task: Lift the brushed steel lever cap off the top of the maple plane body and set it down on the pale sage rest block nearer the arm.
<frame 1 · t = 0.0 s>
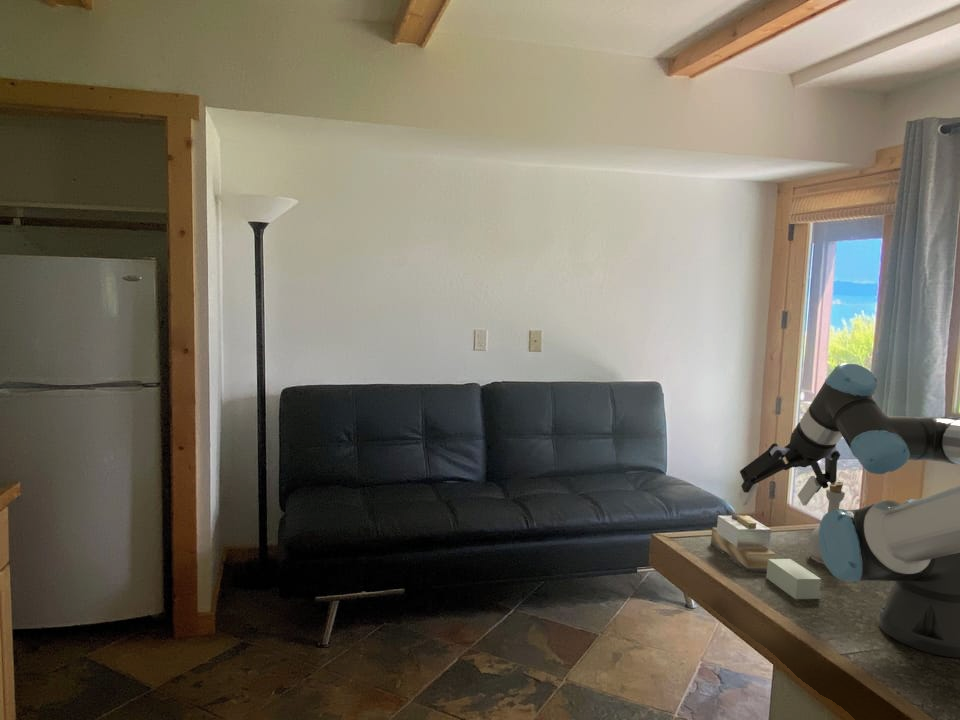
hand: (772, 500, 145), 15 cm above the kitchen counter, tool tilted 35°, fingers open, 13 cm apart
rest block: (791, 587, 138), on the kitchen counter
potion bottle: (827, 561, 155), on the kitchen counter
lever cap: (742, 539, 153), point 4 cm above the kitchen counter, touching plane body
plane body: (740, 557, 153), on the kitchen counter
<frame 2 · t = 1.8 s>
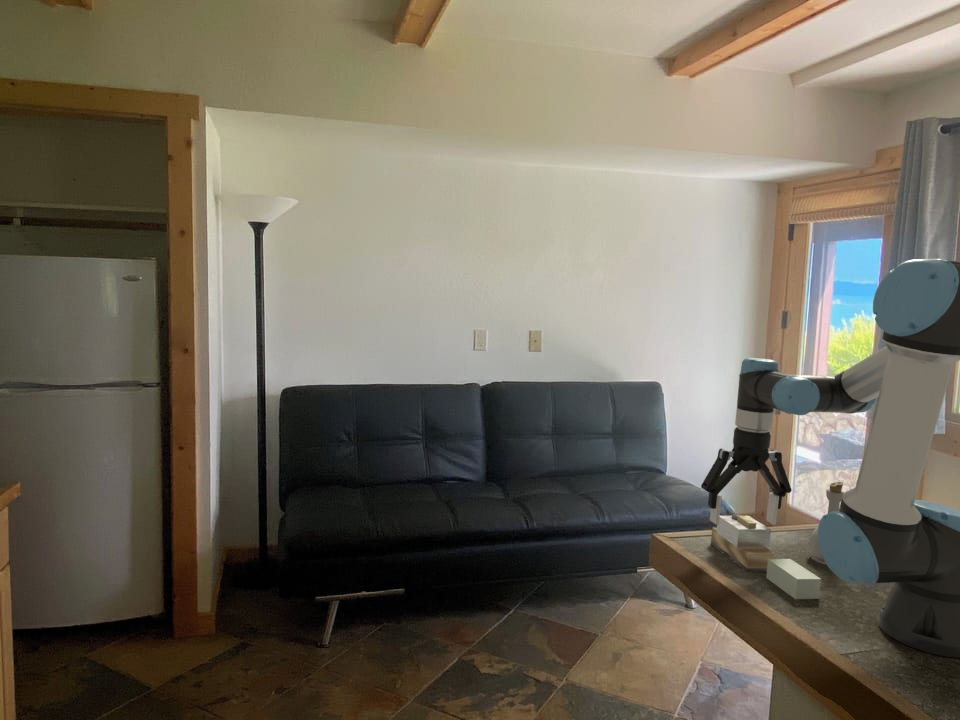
hand: (742, 522, 153), 8 cm above the kitchen counter, tool pointing down, fingers open, 13 cm apart
nothing on the kitchen counter moved.
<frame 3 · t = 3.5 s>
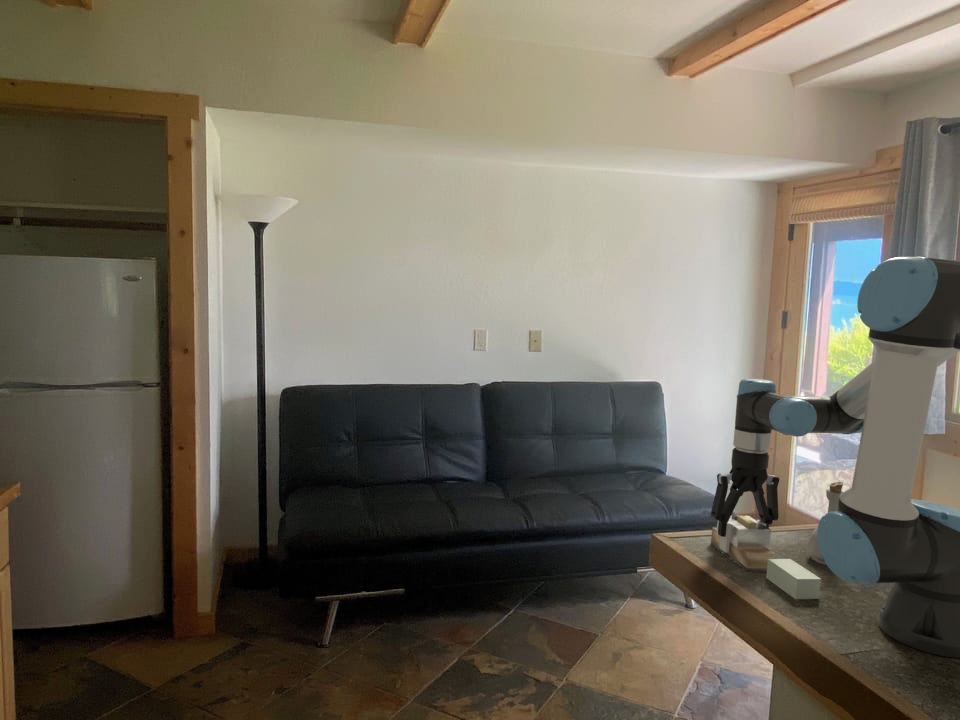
hand: (741, 550, 153), 2 cm above the kitchen counter, tool pointing down, fingers closed on lever cap, 7 cm apart
lever cap: (742, 539, 153), point 4 cm above the kitchen counter, touching gripper, plane body
everything else where it was.
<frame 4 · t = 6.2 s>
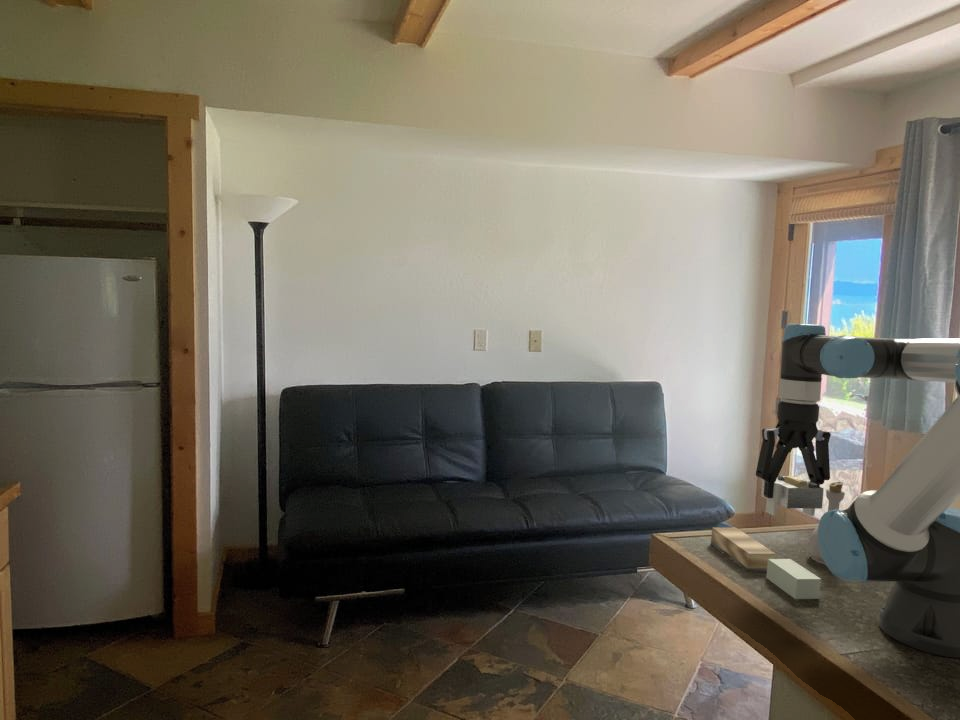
hand: (789, 513, 139), 14 cm above the kitchen counter, tool pointing down, fingers closed on lever cap, 7 cm apart
lever cap: (790, 502, 139), point 17 cm above the kitchen counter, touching gripper
everything else where it was.
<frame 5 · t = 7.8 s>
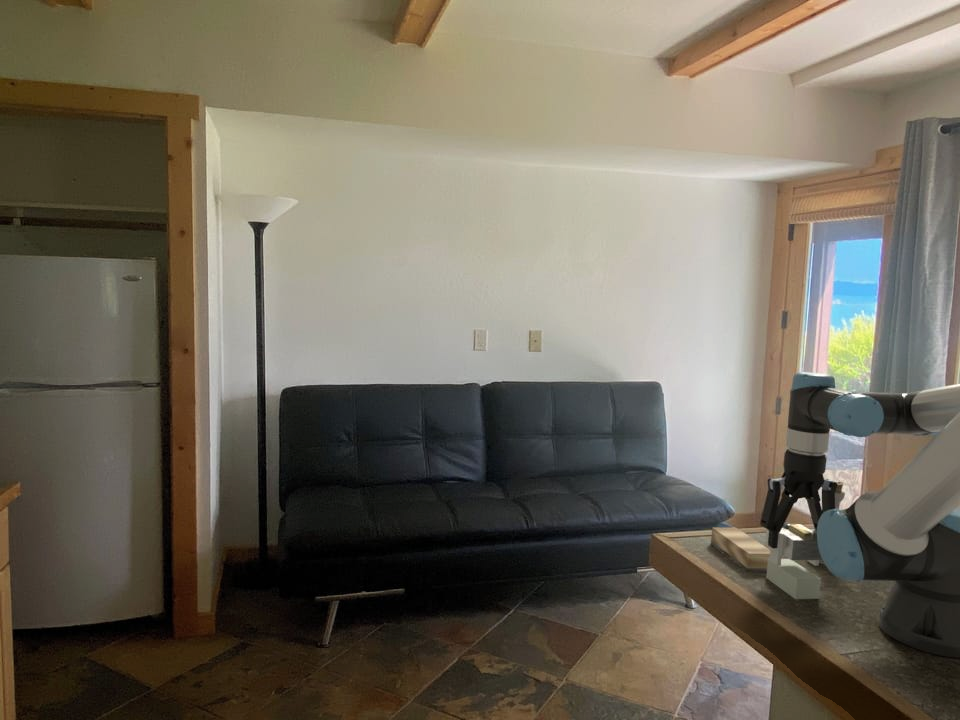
hand: (793, 562, 138), 5 cm above the kitchen counter, tool pointing down, fingers closed on lever cap, 7 cm apart
lever cap: (794, 551, 137), point 8 cm above the kitchen counter, touching gripper
everything else where it was.
when the fingers open (3 cm above the kitchen counter, at t = 9.0 s): lever cap drops 2 cm, resting on rest block.
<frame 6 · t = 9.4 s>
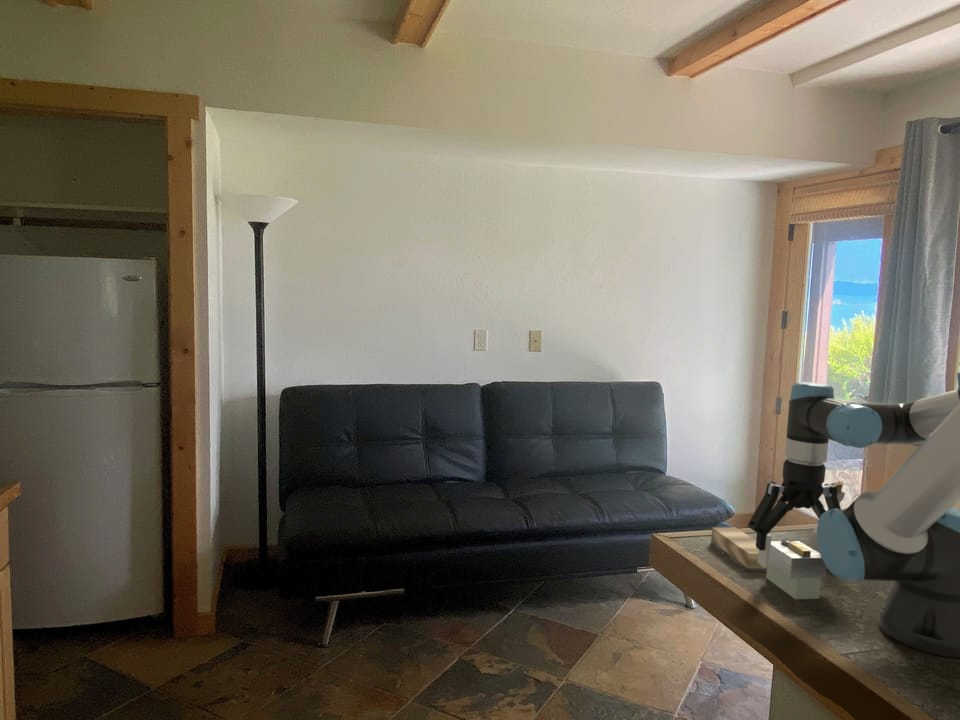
hand: (794, 565, 138), 5 cm above the kitchen counter, tool pointing down, fingers open, 13 cm apart
lever cap: (793, 568, 138), point 4 cm above the kitchen counter, touching rest block
everything else where it was.
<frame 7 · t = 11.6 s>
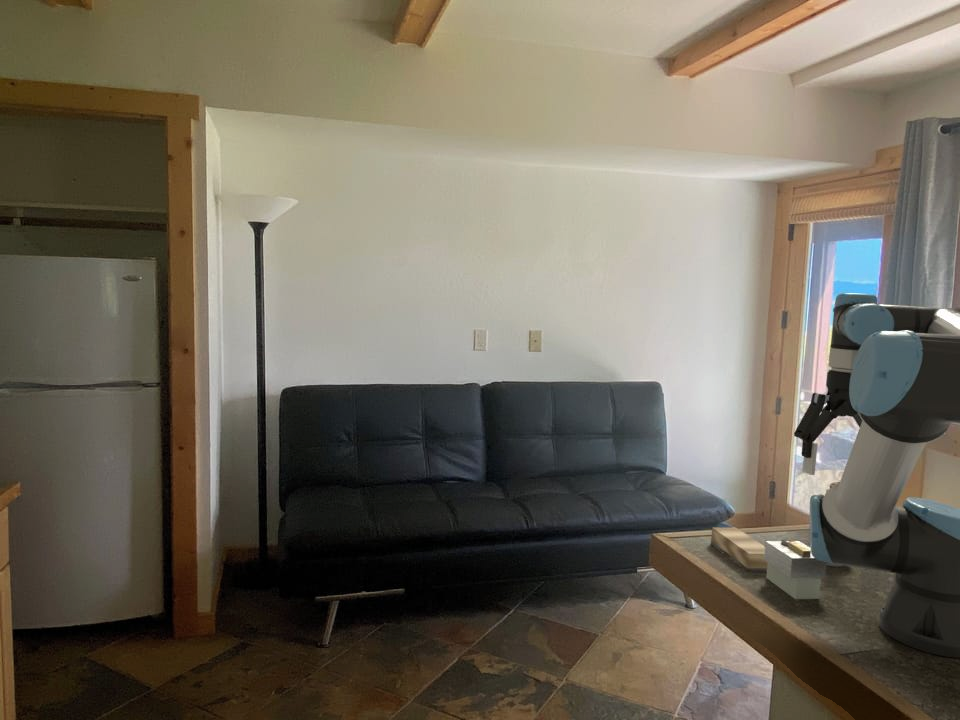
hand: (837, 473, 141), 23 cm above the kitchen counter, tool pointing down, fingers open, 13 cm apart
nothing on the kitchen counter moved.
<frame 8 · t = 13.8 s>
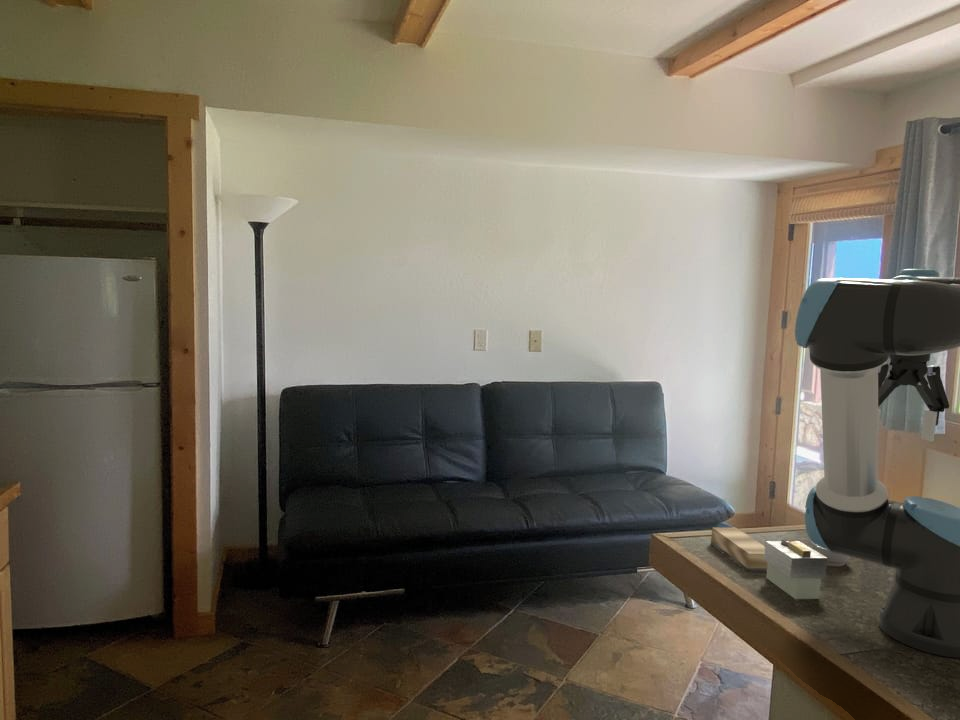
hand: (899, 439, 150), 29 cm above the kitchen counter, tool pointing down, fingers open, 13 cm apart
nothing on the kitchen counter moved.
at the end: lever cap 0.0 cm off-centre on the rest block, point 4.0 cm above the rest block's base; lever cap tilted 0°; the gripper is holding nothing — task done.
